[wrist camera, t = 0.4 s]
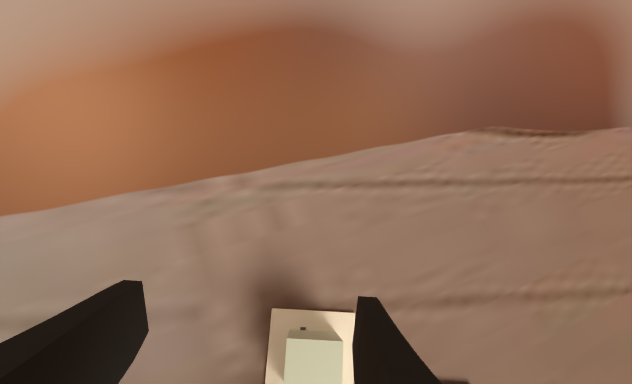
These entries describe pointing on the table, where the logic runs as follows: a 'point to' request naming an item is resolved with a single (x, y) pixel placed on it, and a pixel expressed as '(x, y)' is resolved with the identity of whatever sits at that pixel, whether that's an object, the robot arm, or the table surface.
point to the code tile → (311, 322)
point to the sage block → (313, 357)
